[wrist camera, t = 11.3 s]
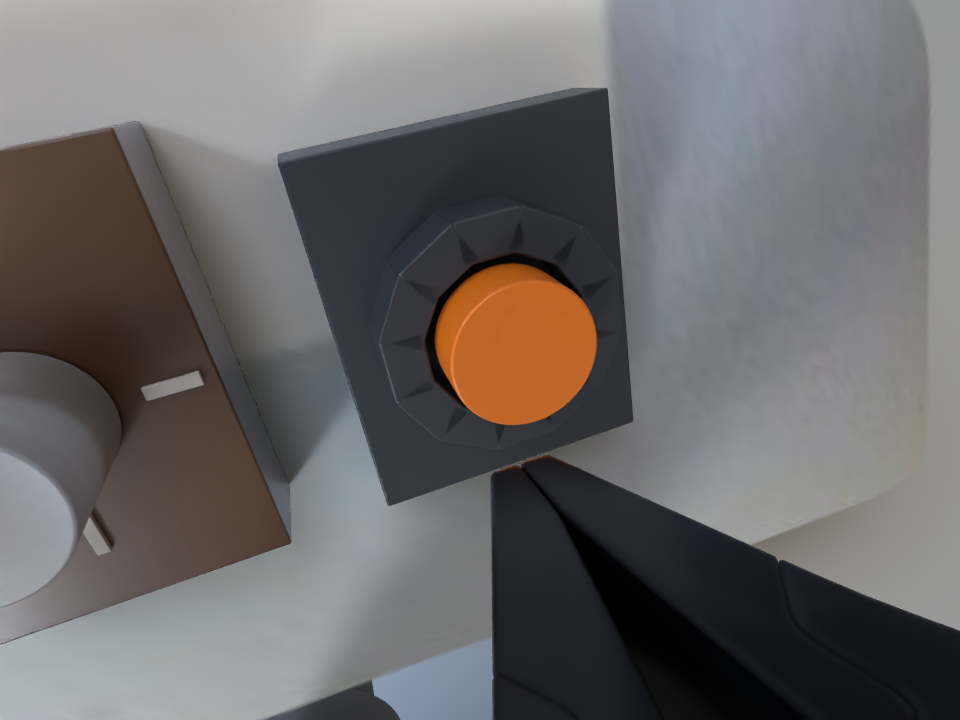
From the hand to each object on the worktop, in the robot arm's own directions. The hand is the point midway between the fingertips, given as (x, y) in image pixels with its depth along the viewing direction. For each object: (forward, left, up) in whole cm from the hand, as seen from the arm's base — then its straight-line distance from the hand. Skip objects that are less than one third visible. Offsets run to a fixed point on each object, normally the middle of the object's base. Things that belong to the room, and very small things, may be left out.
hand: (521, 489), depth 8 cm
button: (-2, -3, -8) cm, 9 cm away
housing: (-2, -2, -12) cm, 12 cm away
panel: (-1, +10, -12) cm, 15 cm away
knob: (-1, +9, -9) cm, 13 cm away
